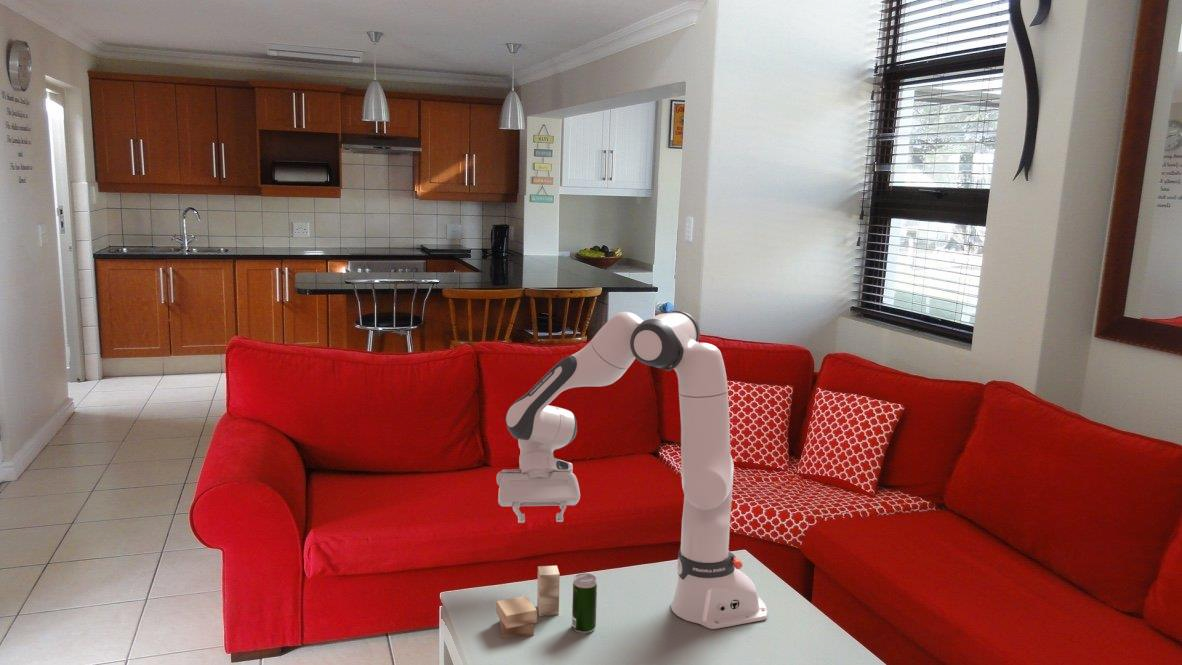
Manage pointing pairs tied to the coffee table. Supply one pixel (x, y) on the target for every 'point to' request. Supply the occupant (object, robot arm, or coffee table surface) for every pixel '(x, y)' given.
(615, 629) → the coffee table surface
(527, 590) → the coffee table surface
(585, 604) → the beer can
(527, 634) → the light brown flat block
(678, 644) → the coffee table surface
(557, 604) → the tan block
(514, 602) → the oak block
